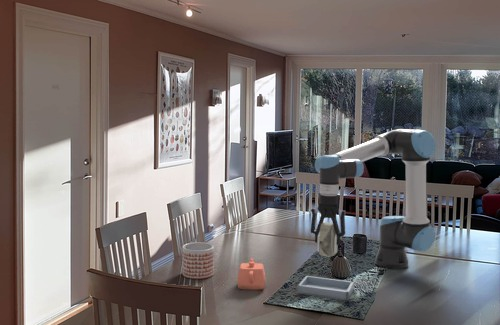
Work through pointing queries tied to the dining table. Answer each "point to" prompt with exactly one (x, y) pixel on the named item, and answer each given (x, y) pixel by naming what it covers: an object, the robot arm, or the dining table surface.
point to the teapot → (251, 276)
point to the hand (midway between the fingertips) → (327, 251)
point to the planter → (198, 260)
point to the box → (327, 239)
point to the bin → (326, 287)
